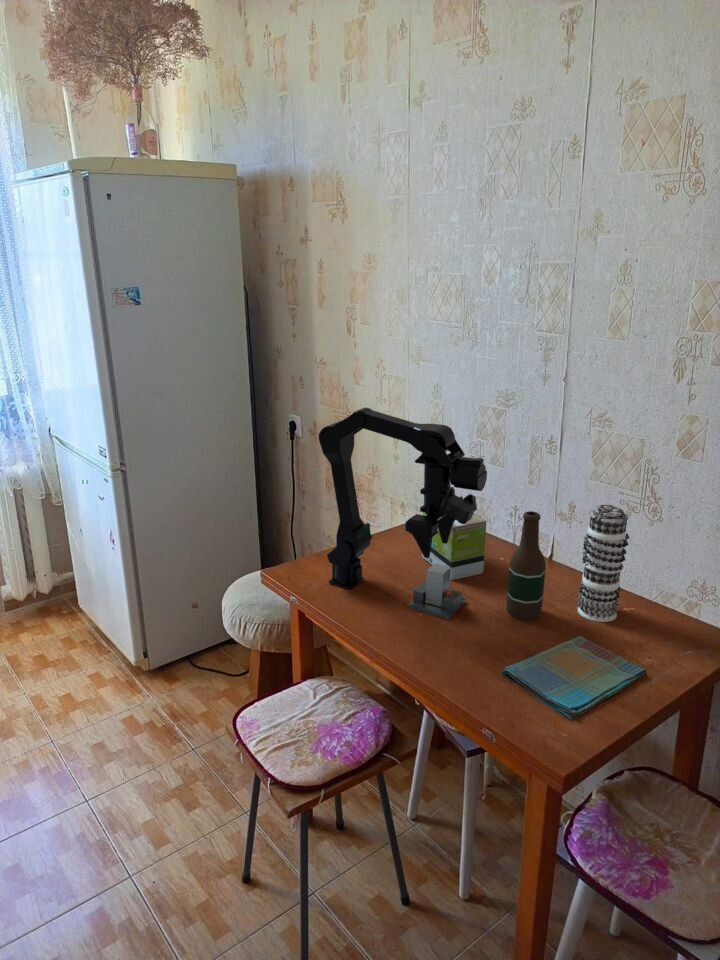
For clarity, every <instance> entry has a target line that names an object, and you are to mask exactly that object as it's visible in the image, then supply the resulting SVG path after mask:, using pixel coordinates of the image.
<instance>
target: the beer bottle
mask: <svg viewBox="0 0 720 960" xmlns="http://www.w3.org/2000/svg"><path fill="white" fill-rule="evenodd" d="M522 519H523V524H522V529H521V537H520V543H519V546H518V548H517V549H516V550H515V551H514V552H513V553H512V556H511V557H510V561H509V564H508V565H509V567H508V578H507V591H506V609H505V610H506V612H507V613H508V614H509V616H510V617H511V619H516V620H519V621H521V622H529V621H536V620H537V619H538V618H539V617H540V615H541V614H542V609H543V599H544V588H545V580H546V579H545V578H546V567H547V566H546V559H545V557H544V554H543V552H542V551H541V550H540V541H539V539H540V538H539V536H540V520H541V514H540V513H539V512H536V511H525V512H524V513H523V515H522Z"/></svg>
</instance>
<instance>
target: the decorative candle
mask: <svg viewBox="0 0 720 960" xmlns="http://www.w3.org/2000/svg"><path fill="white" fill-rule="evenodd" d="M588 515H589V516H590V519H589V524H588V526H587V533H586V534H585V536H584V537H583V544H582V545H583V547H582V548H583V550H584V551H583V552H582V554H583V555H582V565H583V566H584V568H583V573H582V580H580V582H579V583H580V584H579V586H580V587H579V594H578V601H577V613H578V614H579V615H580V616H581V617H583V618H584V619H586V620H588V621H589V620H590V621H592V622H600V623H607V622H611V621H614V620H615V619H616V618H617V612H618V611H619V609H618V606H619V598H620V597H621V595H620V592H621V586H620V582H621V580H620V577H621V572H622V570H623V569H624V568H625V567H624V565H623V562H625V561H626V556H625V555H627V551H626V550H627V549H626V547H627V546H629V543H628V540H629V539H630V535H629V534H628V533H627V523H628V520H629V515H627V514H626V513H625V511H624V510H623V509H622V508H621V507H620V506H616V505H613V504H601V505H600V504H599V505H597V506H596V507H594V508H593V509H591V510H590V511H589V512H588Z"/></svg>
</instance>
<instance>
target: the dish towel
mask: <svg viewBox="0 0 720 960" xmlns="http://www.w3.org/2000/svg"><path fill="white" fill-rule="evenodd" d="M647 672H648V671H647V669H646V668H643V667H640V666H638V665H637V664H635V663H632V662H631V661H629V660H627V659H625V658H623V657H621V656H619V655H617V654H615V653H613V652H611V651H610V650H607V649H606V648H604V647H602V646H600V645H598V644H596V643H594V642H593V641H590V640H589V639H586V638H585V637H584V636H583V635H578V636H576V637H574V638H571V639H570V640H567V641H564V642H561V643H559V644H557V645H554V646H553V647H550V648H548V649H546V650H543V651H541V652H539V653H537V654H534V655H533V656H530V657H528V658H525V659H523V660H521V661H519V662H516V663H513V664H511V665H508V666H505V667H504V668H503V669H502V670H501V676H502V678H503V679H506V680H508V681H510V682H511V683H513V684H515V685H516V686H517V687H519V688H521V689H522V690H524V691H525V692H527V693H528V694H530V695H531V696H532V697H533V698H535V699H537V700H538V701H540V702H541V703H542V704H544V705H545V706H547V707H548V708H550V709H551V710H552V711H554V712H555V713H557V714H558V715H560V716H562V717H563V718H565V719H569V720H570V721H573V720H575V719H577V718H579V716H582V714H584V713H586V712H588V711H589V710H591V709H592V708H594V707H595V706H597V705H598V704H600V703H601V702H603V701H604V700H605V699H607V698H608V699H609V698H610V697H611V696H613V695H615V694H616V693H619V692H620V691H621V690H623V689H624V688H626V687H628V686H630V685H631V683H632V682H633V683H634V681H635V682H637V681H638V680H639V679H641V678H642V677H643V675H645V676H644V677H646V676H647V674H648V673H647ZM641 676H642V677H641ZM640 677H641V678H640ZM637 679H638V680H637ZM633 683H632V684H633ZM629 684H630V685H629ZM627 685H628V686H627Z"/></svg>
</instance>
